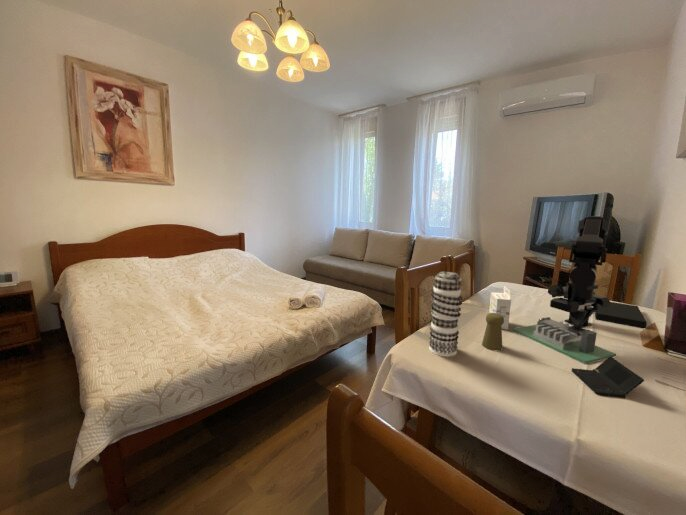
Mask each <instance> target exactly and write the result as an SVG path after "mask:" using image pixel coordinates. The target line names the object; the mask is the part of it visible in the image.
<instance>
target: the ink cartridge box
mask: <svg viewBox="0 0 686 515" xmlns="http://www.w3.org/2000/svg"><path fill="white" fill-rule="evenodd" d="M489 302H490V303H489V311H488V312H489V313H497V314H500V315H502V316H503V318H504V323H503V325H501V327H502V330H508V329H509V324H510V314H511V305H512V291H511V290H510V289H508V288H507V287H506V286H505V285H503V292H493V291H492V292H490V301H489ZM489 313H488V314H489Z"/></svg>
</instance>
